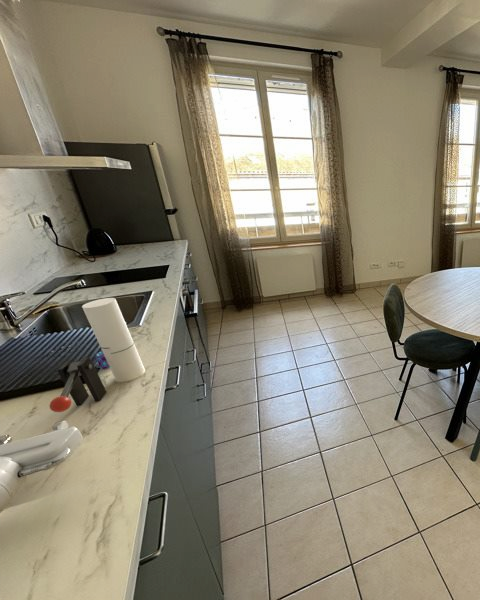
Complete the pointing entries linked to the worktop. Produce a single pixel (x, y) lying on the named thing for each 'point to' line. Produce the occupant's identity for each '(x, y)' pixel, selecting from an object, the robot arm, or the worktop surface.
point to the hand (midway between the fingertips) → (35, 430)
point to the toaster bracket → (90, 379)
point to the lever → (66, 390)
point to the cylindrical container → (114, 339)
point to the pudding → (101, 360)
